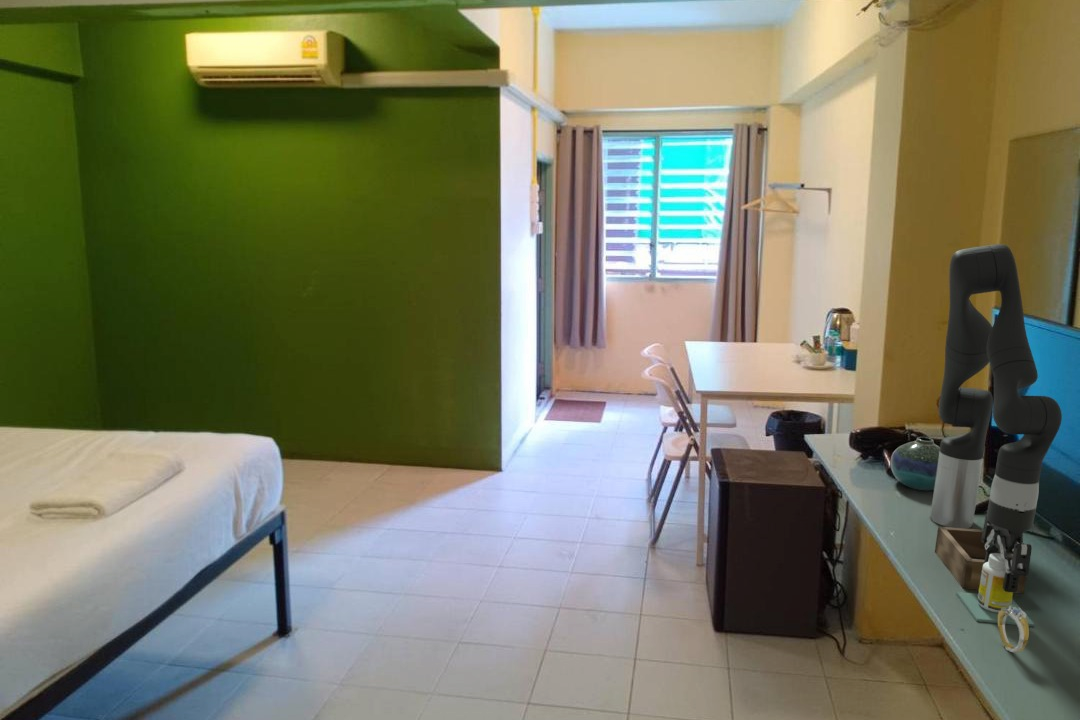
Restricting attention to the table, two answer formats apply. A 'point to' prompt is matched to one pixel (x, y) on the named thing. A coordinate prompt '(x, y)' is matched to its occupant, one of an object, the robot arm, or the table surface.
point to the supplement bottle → (994, 585)
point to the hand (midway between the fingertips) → (999, 579)
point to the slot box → (965, 555)
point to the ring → (1023, 631)
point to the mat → (982, 614)
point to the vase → (916, 463)
